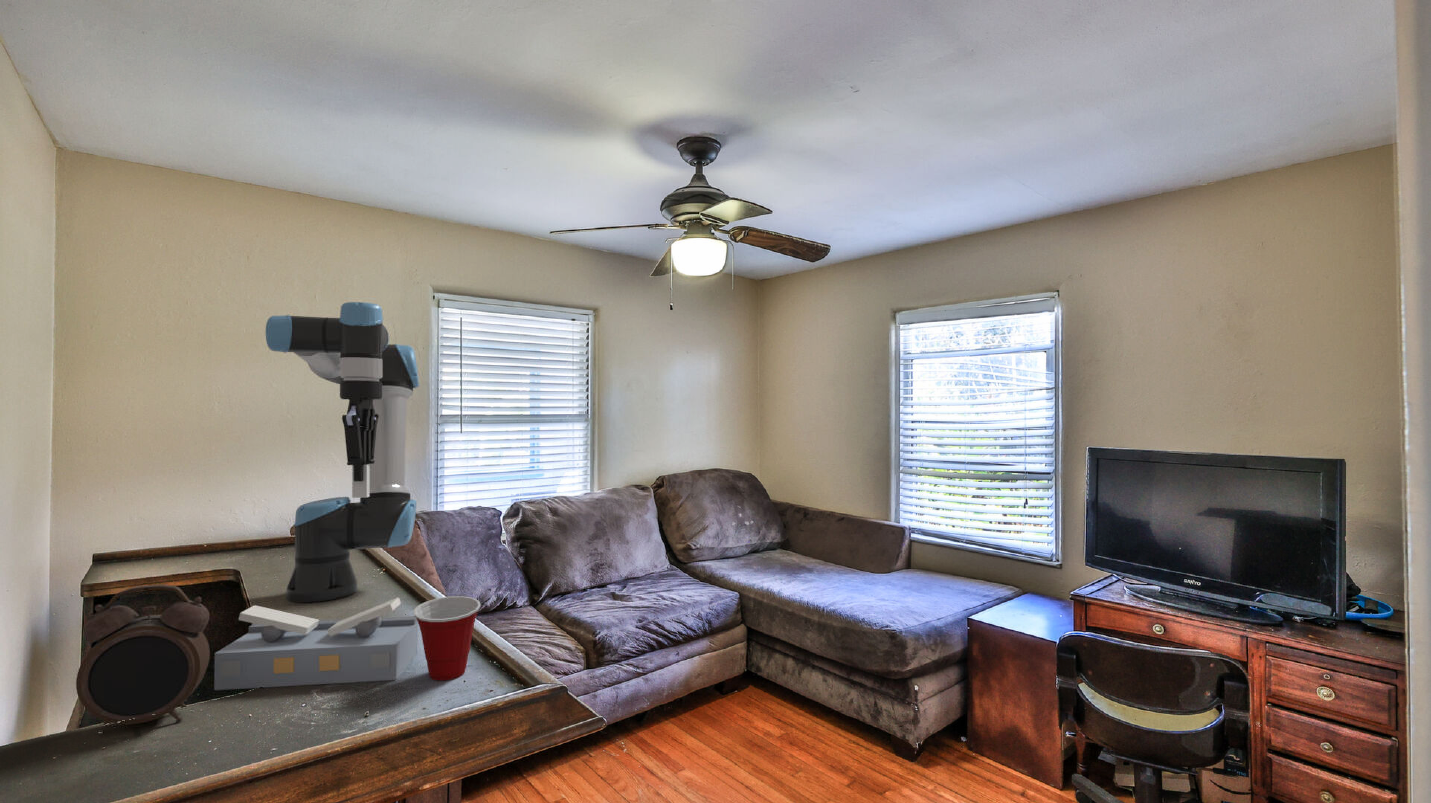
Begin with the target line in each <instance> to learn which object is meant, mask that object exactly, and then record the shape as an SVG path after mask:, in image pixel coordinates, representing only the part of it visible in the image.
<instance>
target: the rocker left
mask: <svg viewBox="0 0 1431 803" xmlns="http://www.w3.org/2000/svg"><path fill="white" fill-rule="evenodd" d="M238 621H241V622H242V621H243V622H246V623H251V624H259V625H264V626H266V627H265V628H264V629H263V630H262V632H261V636H262V638H263V640H265V641H267V642H272V641H275V640H276V639H278V638H279V637H281V636H282V635H284V634H285V633H286V632H288V631H291V632H295V633H300V634H304V635H306V634H307V633H309V632H310V631H311V630H313V629H314V628H316V627H317V625H318V622H319V621H320V619H317V618H313V617H308V616H305V615H301V614H299V615H298V614H295V613H290V612H287V611H281V610H277V609H273V608H270V607H269V608H268V607H264V606H260V605H256V604H255V605H252V606H250V607H249V608H246V609H245V610H243V611H241V612H240V613H239V617H238Z"/></svg>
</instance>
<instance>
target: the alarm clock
mask: <svg viewBox="0 0 1431 803" xmlns="http://www.w3.org/2000/svg"><path fill="white" fill-rule="evenodd" d="M153 590H155V591H157V590H159V591H161V590H163V591H172V592H174V593H176V595H177V596H178V597H179V598H180V599H181V601H177V602H174V603H173V604H171V605H170V606H168V608H166V609H165V610H164V612H163V613H161V614H151V612H155V611H156V610H157V606H156V605H150V606H144V607H142V608H141V612H142V613H147V615H145V616H144V615H143V616H141V617H139V614H138V613H137V612H136V611H135V610H134V609H132V608H131V607H130V606H126V605H115V606H113V605H114V604H115V602H116V601H117V600H118V598H119V597H121V596H124V595H128V594H130V593H135V592H136V593H137V592H142V591H143V592H144V591H153ZM201 602H202V597H201V596H197V597H196V598H194V600H191V599H189V597H188V596H187V594H185V593H184V591H183V589H181V588H180V587H178V586H176V585H169V584H151V585H141V586H135V587H131V588H128V589H125V590H124V589H123V590H120V591H119V592H118V593H115V594H114V595H113V596H112V597H111V598H110V600H109V602H108V603H107V604H106V605H105V607H104V606H103V605H101V604H97V605H94V610H95V612H96V613H94V614H92V615H91V616H90V617H88V621H87V622H86V624H85V626H84V635H85V639H86V640H87V641H88V643H89V644H93V643H95V642H96V643H95V645H94V646H92V648H91V649H90V651H88V653H87V654H86V656H85V657H84V659H83V660H82V662H81V663H80V666H79V667H78V671H77V674H76V679H75V686H76V693H77V698H78V699H79V701H80V703H81V705H82V706H83V707H84V708H85V709H86V710H87V712H89V713H90V714H91V715H93V716H95V717H96V718H98V719H99V720H102V721H104V722H103V724H102V726H101V728H102V729H101V728H100V729H99V730H97V733H98V732H104V733H105V731H106V729H107V728H108V727H109V726H110V725H105V724H107V723H110V724H118V725H119V724H120V725H135V724H141V723H147V722H150V721H153V720H156V719H158V718H159V719H160V718H161V717H163V716H165V715H167V714H168V715H170V716H171V717H172V718H174V719H175V722H176V723H180V722H181V723H182V721H183V718H182V717H180V716H179V714H178V712H177V710H176V708H178V707H179V706H180V708H181V709H182V708H183V707H186V708H187V707H188V706H187V704H185V703H184V702H185V701H186V700H187V699H188V698H189V697H190V696H191V695H192V694H193V693H194V692H195V690H196V689H197V688H198V687H199V685H200V684H201V683H202V680H203V679H204V677H205V674H206V671H207V669H208V667H209V663H210V658H211V657H210V655H211V652H210V644H209V641H208V639H207V637H206V635H205V634H204V631H205V629H206V628H207V625H208V622H209V620H210V617H211V616H210V611H209V609H207V607H206V606H204V604H202V603H201ZM152 714H155V715H152ZM133 718H135V719H133ZM129 719H131V720H129ZM122 720H125V721H122ZM118 721H121V722H120V723H117V722H118ZM103 725H105V726H103Z"/></svg>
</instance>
